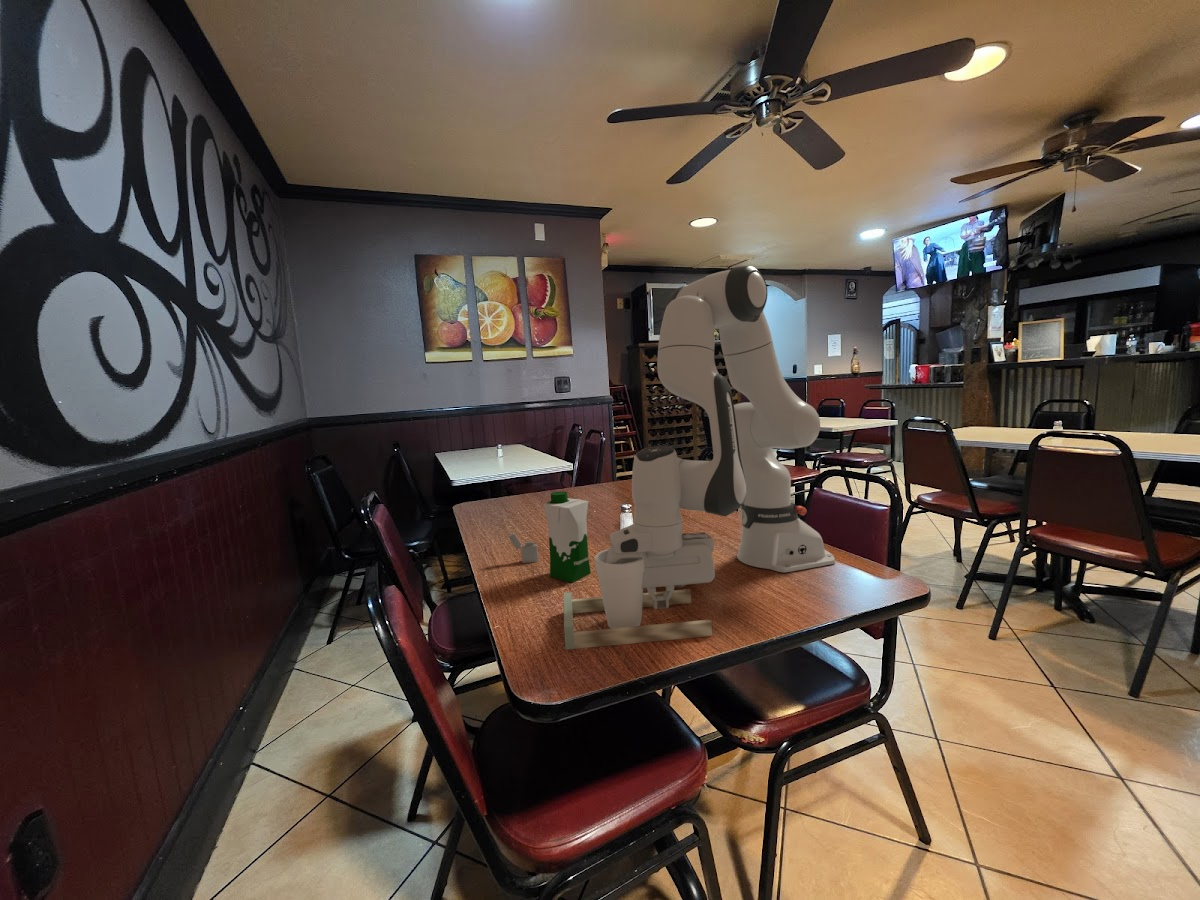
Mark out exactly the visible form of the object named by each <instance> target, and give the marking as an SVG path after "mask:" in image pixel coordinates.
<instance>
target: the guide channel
mask: <svg viewBox="0 0 1200 900" xmlns="http://www.w3.org/2000/svg"><path fill="white" fill-rule="evenodd" d="M665 591H666V590H664V591H663V590H662V591H656V592H653V593H654V594H655V596H656V597H657V596H663V595H664V593H665ZM691 603H692V591H691V589H689V588H687V589H676V590H675V589H674V592H673V594H672V596H671V597H670V599H669V606H672V605H683V604H691ZM649 607H651V608H653V599H652V598H651V596H650V595H649V593H648V592H643V605H642V608H649ZM572 611H573V614H582V613H593V612H603V611H604V612H605V609H604V604H603V599H602V596H595V597H583V598H582V597H581V598H574V599H573V598H572ZM712 624H713V623H712V621H711V619H701V620H692V621H689V620H688V621H679V622H668V623H659V624H658V623H657V624H647V625H640V626H634V627H623V628H612V629H611V628H603V629H593V630H583V631H582V630H581V631H574V632H573V634H574V649H573V650H576V649H587V648H597V647H598V648H599V647H608V646H610V647H611V646H619V645H629V644H630V645H631V644H640V643H651V642H662V641H670V640H674V641H675V640H683V639H692V638H693V639H694V638H703V637H704V638H705V637H712V636H713V625H712Z"/></svg>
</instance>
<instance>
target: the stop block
mask: <svg viewBox="0 0 1200 900" xmlns="http://www.w3.org/2000/svg"><path fill="white" fill-rule="evenodd" d="M572 599H573V598H572V591H570V592H563V631H564V645H565V650H567V651H568V650H575V649H574V634H573V632H575V631H574V618H573V616H574V615H573V614H574V613H573V611H572Z"/></svg>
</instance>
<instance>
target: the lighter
mask: <svg viewBox="0 0 1200 900" xmlns="http://www.w3.org/2000/svg"><path fill="white" fill-rule="evenodd" d="M508 538H509V541H511V543H512V544H513V546H514V548H515V550H519V549H521V550H520V552H521V563H522V564H529V563H538V562H539V552H538V544H537V543H535V542H533V541H525V543H524V544H522V543H521V542H520V540H519V538H518V537H517V535H516V534H515V532H512V533H510V534H509V535H508Z"/></svg>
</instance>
